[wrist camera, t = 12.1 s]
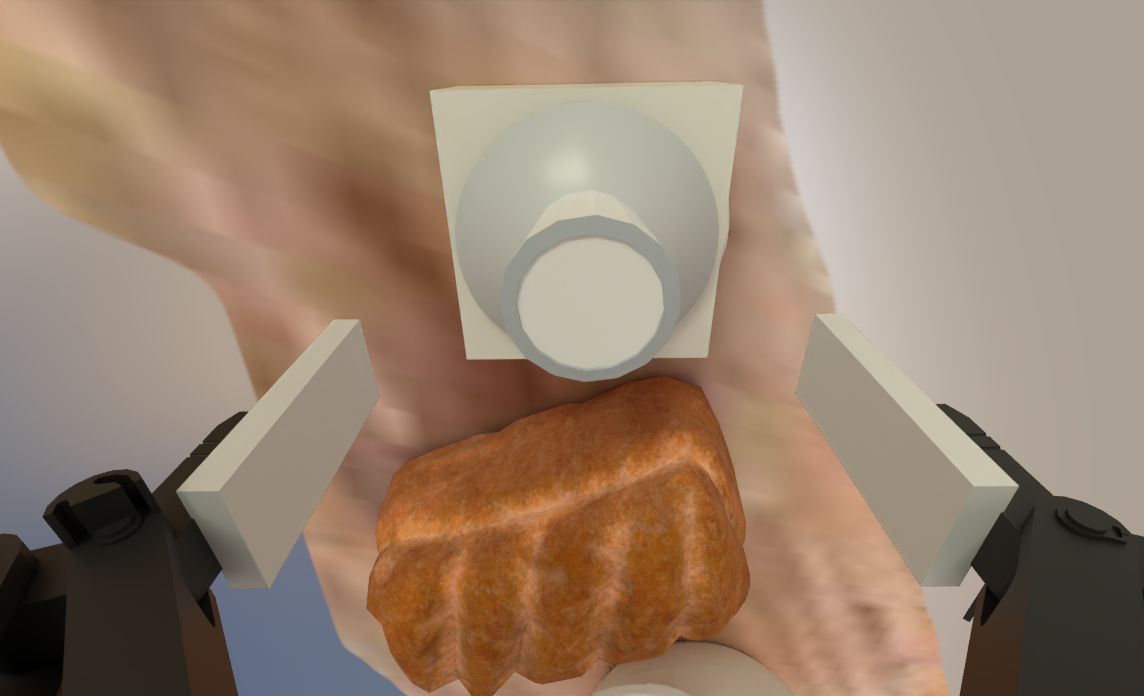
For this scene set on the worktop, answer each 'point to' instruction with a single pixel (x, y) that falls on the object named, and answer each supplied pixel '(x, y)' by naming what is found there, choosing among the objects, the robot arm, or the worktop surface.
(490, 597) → the bread
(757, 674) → the pot
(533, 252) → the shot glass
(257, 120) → the worktop surface
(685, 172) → the kitchen scale
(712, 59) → the worktop surface
